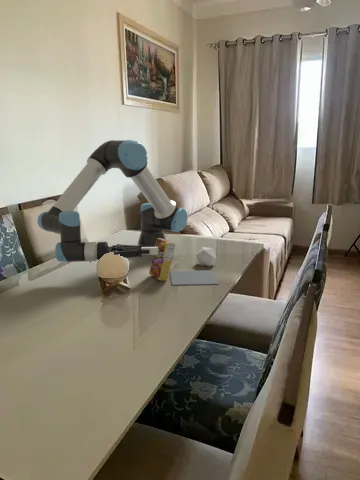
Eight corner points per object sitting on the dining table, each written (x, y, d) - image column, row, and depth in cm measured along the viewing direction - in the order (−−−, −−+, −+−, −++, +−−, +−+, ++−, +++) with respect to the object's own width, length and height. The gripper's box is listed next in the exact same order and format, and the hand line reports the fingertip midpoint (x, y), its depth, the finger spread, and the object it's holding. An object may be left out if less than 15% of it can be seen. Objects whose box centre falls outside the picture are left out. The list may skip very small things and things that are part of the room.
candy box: (147, 273, 158) (156, 237, 156) (156, 274, 160) (165, 239, 159) (158, 280, 150) (167, 242, 149) (167, 281, 153) (176, 243, 151)
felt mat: (170, 271, 163) (170, 271, 163) (212, 271, 165) (212, 270, 164) (171, 285, 148) (171, 284, 148) (218, 284, 149) (218, 283, 149)
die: (218, 264, 175) (210, 245, 178) (219, 260, 167) (210, 241, 170) (202, 271, 175) (194, 252, 178) (201, 268, 167) (193, 247, 169)
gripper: (100, 256, 158) (158, 255, 159) (95, 266, 145) (158, 264, 146) (99, 238, 156) (157, 237, 157) (94, 246, 143) (158, 245, 145)
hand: (158, 250), depth 152 cm, fingers closed
